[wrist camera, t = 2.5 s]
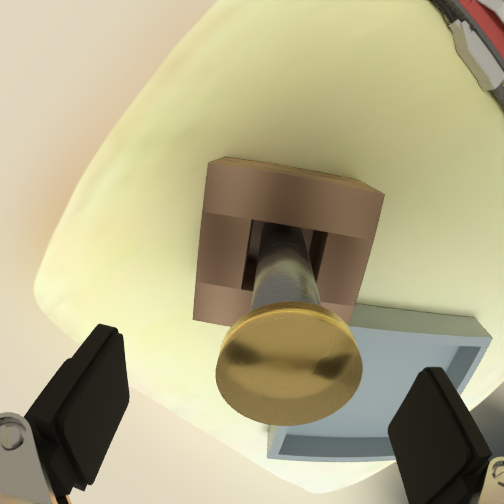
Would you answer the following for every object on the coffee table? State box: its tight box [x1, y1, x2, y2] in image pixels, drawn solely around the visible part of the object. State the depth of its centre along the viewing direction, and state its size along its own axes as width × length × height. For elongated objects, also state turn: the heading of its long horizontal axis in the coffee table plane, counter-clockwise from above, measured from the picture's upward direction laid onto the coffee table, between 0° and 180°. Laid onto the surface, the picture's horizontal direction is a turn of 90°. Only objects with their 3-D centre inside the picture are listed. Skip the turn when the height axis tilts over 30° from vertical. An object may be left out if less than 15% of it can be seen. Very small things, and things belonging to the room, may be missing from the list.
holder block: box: [193, 157, 385, 327], centre depth 22 cm, size 10×10×6 cm
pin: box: [216, 222, 363, 426], centre depth 16 cm, size 5×5×15 cm
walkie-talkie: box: [432, 0, 504, 107], centre depth 16 cm, size 9×4×20 cm
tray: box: [267, 304, 492, 462], centre depth 27 cm, size 18×18×4 cm
